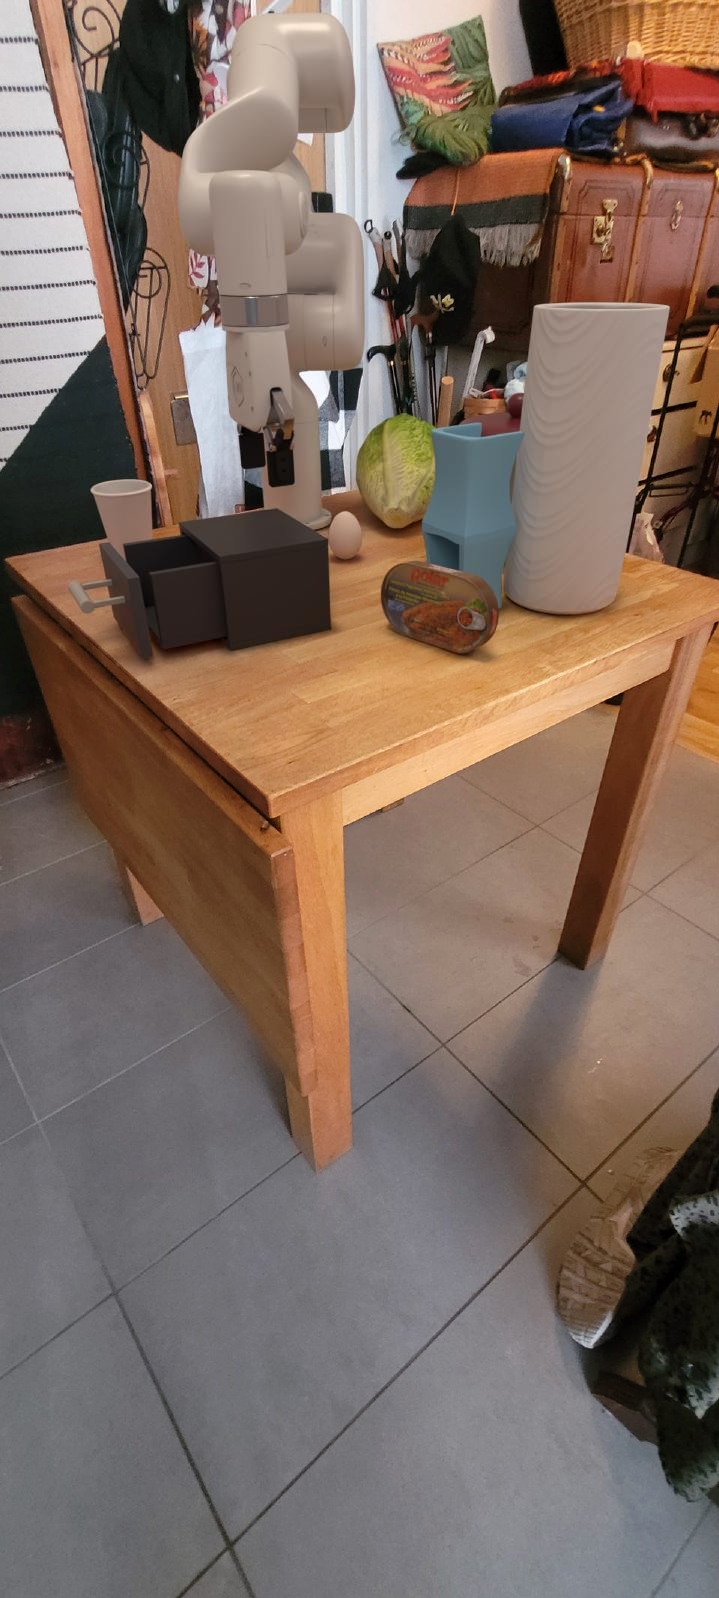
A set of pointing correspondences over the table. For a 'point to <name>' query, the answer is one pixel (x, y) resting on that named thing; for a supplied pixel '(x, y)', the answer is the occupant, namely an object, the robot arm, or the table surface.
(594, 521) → the vase
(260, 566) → the cabinet
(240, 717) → the table surface
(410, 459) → the lettuce
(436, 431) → the vase
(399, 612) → the tin
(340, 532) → the egg
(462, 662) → the table surface
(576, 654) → the table surface
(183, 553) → the drawer
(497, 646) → the table surface
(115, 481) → the dixie cup
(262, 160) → the robot arm
